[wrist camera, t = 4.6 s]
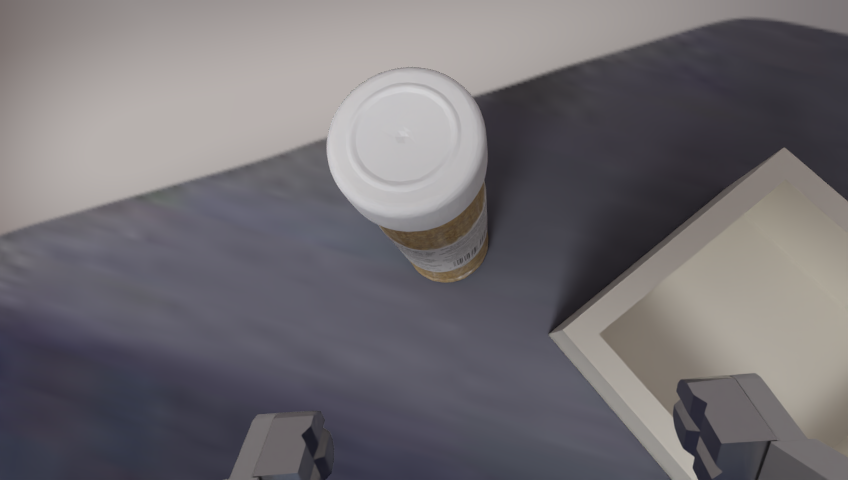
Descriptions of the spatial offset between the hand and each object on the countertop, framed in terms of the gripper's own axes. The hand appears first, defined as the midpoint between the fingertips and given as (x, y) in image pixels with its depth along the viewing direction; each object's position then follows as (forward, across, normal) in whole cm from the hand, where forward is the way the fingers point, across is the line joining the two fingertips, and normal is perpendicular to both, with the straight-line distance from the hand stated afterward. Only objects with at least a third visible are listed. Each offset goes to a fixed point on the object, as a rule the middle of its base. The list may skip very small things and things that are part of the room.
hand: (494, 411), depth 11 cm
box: (+10, -11, +9) cm, 18 cm away
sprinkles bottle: (+15, +2, +4) cm, 16 cm away
